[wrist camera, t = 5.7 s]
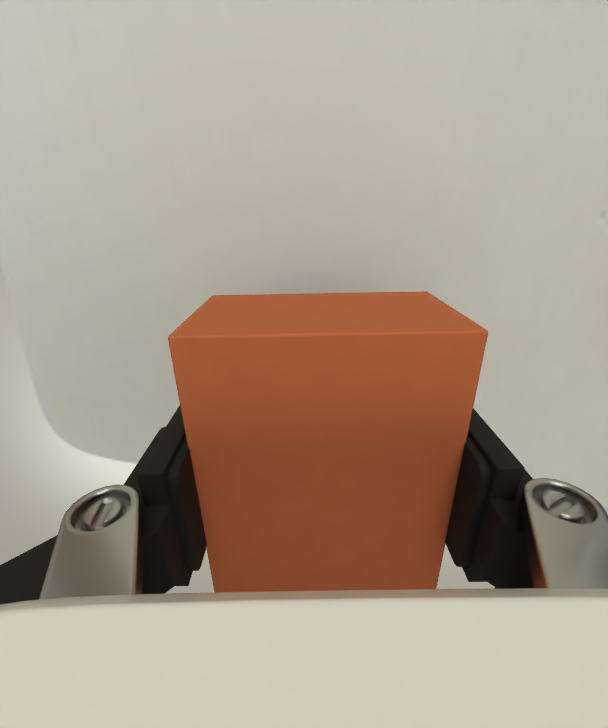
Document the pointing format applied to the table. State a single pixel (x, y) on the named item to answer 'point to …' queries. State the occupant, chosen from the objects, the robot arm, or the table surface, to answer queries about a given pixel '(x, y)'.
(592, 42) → the table surface
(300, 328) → the orange rectangular block
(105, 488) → the robot arm
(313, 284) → the table surface
